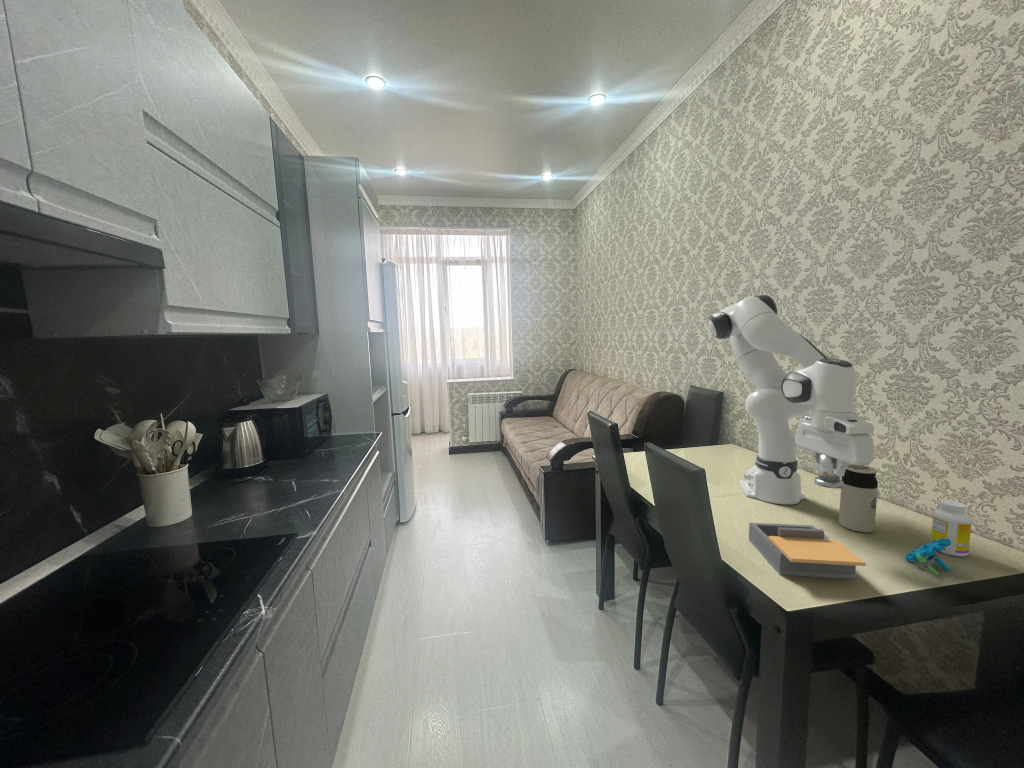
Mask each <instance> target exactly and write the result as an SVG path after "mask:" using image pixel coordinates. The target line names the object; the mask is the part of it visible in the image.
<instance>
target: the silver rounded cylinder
mask: <svg viewBox="0 0 1024 768" xmlns="http://www.w3.org/2000/svg"><path fill="white" fill-rule="evenodd" d="M838 465H839V464H838V463H837V459H835V458H832V457H829V456H825V455H822V454H820V460H819V469H818V476H816V477H814V484H815V485H818V486H819V487H823V488H827V489H834V490H835V489H836V490H838V489H839V490H840V489H841V488H843V486H844V482H843V481H842V479H841V477H839V476H836V475H834V474H833V468H837V466H838Z"/></svg>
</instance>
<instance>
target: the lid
mask: <svg viewBox="0 0 1024 768" xmlns="http://www.w3.org/2000/svg"><path fill="white" fill-rule="evenodd" d="M824 534H825V530H823V529H822V528H817V529H807V528H785V527H778V536H769V537H768V539H769V540H770V541H771V542H772V543H773V544H774V545H775V546H776V547H777V548H778V549H779V550H780V551H781V552H782V553H783V554H784V555H785V556H786V557H787V558H788V559H789V560H790V561H791V562H802V563H820V564H837V565H854V566H856V567H858V566H859V567H866V564H867V563H866V561H864V560H863V559H862V558H860V557H859V556H857V555H856V554H855V553H854V552H852V551H851V550H849V549H848V548H847V547H845V546H844V545H843V544H841V543H840V542H839V541H837V539H835V538H830V539H824Z"/></svg>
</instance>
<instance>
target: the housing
mask: <svg viewBox="0 0 1024 768" xmlns="http://www.w3.org/2000/svg"><path fill="white" fill-rule="evenodd" d="M748 525H749V527H748V541H749V542H750V543H751V544H752V545H753V547H755V548H756V550H757V551H758V552H759V554H761V555H762V557H764V558H765V560H766V561H767V563H769V565H770V566H771V567H772V568H773V569H774V570H775V571H776V572H777V574H778V575H784V576H798V577H815V578H828V579H829V578H830V579H831V578H832V579H843V578H844V580H845V578H846V579H847V580H856V572H857V571H856V569H857V568H856V567H857V566H854V565H837V564H820V563H802V562H791V561H790V560H789V559H788V558H787V557H786V556H785V555H784V554H783V553H782V552H781V551H780V550H779V549H778V548H777V547H776V546H775V545H774V544H773V543H772V542H771V541H770V540H769V539H768V537H769V536H778V527H785V528H807V529H818V528H817V527H816V526H814V525H813V524H812V525H811V524H810V525H809V524H790V523H789V524H786V523H770V522H769V523H765V522H749V523H748ZM824 539H831V537H828V535H826V534H825V533H824Z"/></svg>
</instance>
